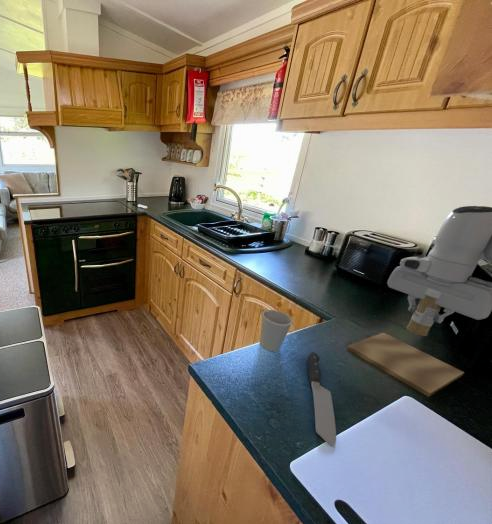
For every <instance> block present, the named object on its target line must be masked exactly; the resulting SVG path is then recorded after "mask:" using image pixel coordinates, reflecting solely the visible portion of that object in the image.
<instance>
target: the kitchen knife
mask: <svg viewBox="0 0 492 524" xmlns="http://www.w3.org/2000/svg"><path fill="white" fill-rule="evenodd" d="M320 360H321V359H320V356H319V355H318V354H317V353H316V352H315V351H312V352H310V353H309V355H308V356H307V358H306V368H307V375H308V381H309V385H311V389H312V397H313V406H314V421H315V423H314V424H315V432H316V434H317V435H318V436H320V438H321V439H323V440H324V441H325V442H326V444H328V445H329V446H330V447H332V448H334V447H335V445H336V441H337V428H336V419H335V418H336V417H335V412H334V403H333V397H332V393H331V391H330V390H328V389H327V388H325V387H323V386H322V385H321V384H320V381H321V379H320V375H321V369H320V366H319V361H320Z"/></svg>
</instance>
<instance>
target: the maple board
mask: <svg viewBox="0 0 492 524" xmlns="http://www.w3.org/2000/svg"><path fill="white" fill-rule="evenodd" d="M346 350H348V351H350V352H351V353H353V354H354V355H357V356H358V357H360V358H361V359H363V360H365V361H366V362H368V363H370V364H372V365H373V366H375V367H377V368H378V369H380V370H382V371H383V372H385V373H387V374H389V375H390V376H392V377H393V378H394V379H395V378H396V379H397V380H399V381H400V382H402V383H404V384H405V385H407V386H409V387H411V388H413V389H414V390H416V391H418V392H419V393H421V394H422V395H424V396H426V397H428V398H429V397H431V396H432V395H434V394H436V393H437V392H439V391H441V390H442V389H444V388H446V387H447V386H448V385H450V384H452V383H453V382H455V381H457V380H458V379H459V378H461V377H464V374H465V372H464V371H463V370H461V369H459V368H457V367H455V366H452V365H450V364H449V363H446V362H444V361H442V360H440V359H438V358H436V357H434V356H432V355H430V354H429V353H427V352H424V351H422V350H421V349H418V348H416V347H414V346H412V345H410V344H408V343H406V342H403V341H401V340H400V339H397V338H395V337H393V336H391V335H389V334H387V333H385V332H381V333H377V334H375V335H373V336H370V337H367V338H365V339H362V340H359V341H357V342H354V343H352V344H348V345H347V347H346Z"/></svg>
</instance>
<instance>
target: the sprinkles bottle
mask: <svg viewBox="0 0 492 524" xmlns="http://www.w3.org/2000/svg"><path fill="white" fill-rule="evenodd" d="M425 294H426V295H425V298H424V299H423V300H422V299H420V300H419V302H418V303H417V308H416V310H415V312H413V313H412V316H411V318H410V320H409V323H408V325H407V326H406V330H407V331H408V332H410V333H411V334H414V335H417V336H421V337H427V336H428V335H429V332H430V329H431V328H432V326H433V325H434V323H435V321H433V318H434V316H435V315H438V314H440V311H441V308H442V307H441V306H438V305H436V304H435V300H437V299H439V297H440V295H441V293H440V292H438V291H435V290H432V289H429V288H428V289H427V290H426V292H425Z"/></svg>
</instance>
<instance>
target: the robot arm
mask: <svg viewBox="0 0 492 524" xmlns="http://www.w3.org/2000/svg"><path fill="white" fill-rule="evenodd" d="M434 241H435V242H434V245H433V248H432V249H430V250H429V252H428V254H427V256H409V257H404V258H402V259H400V262H399V266H396V267H395V268H394V269H393V271H392V272H391V274H390V275H389V276H388V277H389V278H388V279H387V282H386V284H387V286H388V288H390V289H392V290H395V291H398V292H401V293H404V294H406V295H407V301H408V305H409V306H408V308H407V311H409V312H412V313H414V312H415V310H416V308H417V306H418V304H416V300H417V299H420V300H421V299H422V300H423V299H424V298H425V295H426V294H425V292H426V290H427V289H428V288H429V289H432V290H435V291H438V292H440V293H441V295H440V297H439V299H437V300H435V304H436V305H438V306H441V308H444V309H443V312H444V313H442V314H440V313H438V315H435V316H434V318H433V321H434V322H436V323H438V324H441V323H442V322H443V321H444V319H445V318H447V317H448V316H450V315H452V314H454V313H457V314H460V315H463V316H466V317H469V318H471V319H474V320H477V321H480V320H484V319H487V318H488V317H489V316H490V315H491V314H492V313H491V312H492V281H488V280H483V279H481V278H478V277H476V276H475V277H474V276H472V275H473V273H474V271H475V269H476V268H477V265H478V264H479V261H481V260H485V261H488V262H490V263H492V207H491V206H483V205H482V206H479V205H465V206H459V207H456V208H454V209H453V210H451V211H450V212H449V214H448V215H447V216H446V218H445V219H444V221H443V222H442V223H441V225H440V228H439V230H438V232H437V233H436V236H435V240H434Z"/></svg>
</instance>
